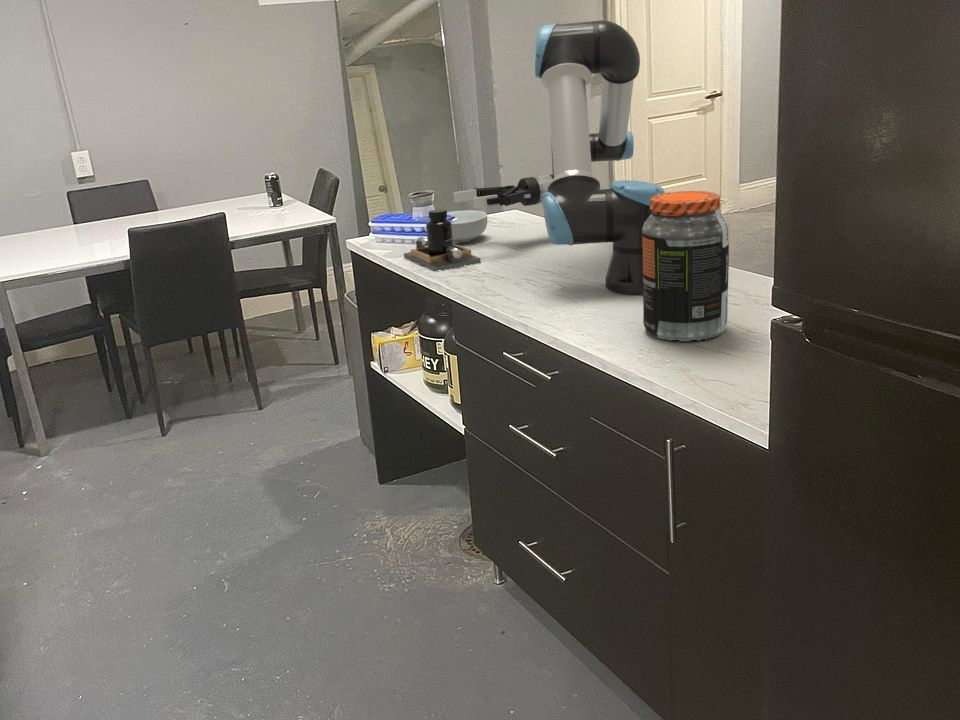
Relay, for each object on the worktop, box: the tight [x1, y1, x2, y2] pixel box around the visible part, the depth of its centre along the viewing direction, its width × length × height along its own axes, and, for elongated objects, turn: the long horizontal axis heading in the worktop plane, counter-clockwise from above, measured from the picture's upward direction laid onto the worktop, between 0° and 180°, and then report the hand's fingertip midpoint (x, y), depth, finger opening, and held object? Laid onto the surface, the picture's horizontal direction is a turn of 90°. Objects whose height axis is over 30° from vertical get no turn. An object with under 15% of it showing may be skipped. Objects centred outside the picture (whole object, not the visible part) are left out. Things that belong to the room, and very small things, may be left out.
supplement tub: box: [642, 190, 730, 342], centre depth 169 cm, size 16×16×26 cm
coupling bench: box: [403, 236, 482, 272], centre depth 239 cm, size 21×13×5 cm, turn 28°
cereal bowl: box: [447, 209, 488, 243], centre depth 260 cm, size 17×17×7 cm
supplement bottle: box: [425, 208, 454, 256], centre depth 238 cm, size 7×7×12 cm
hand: (463, 200), depth 239 cm, fingers open, 13 cm apart
